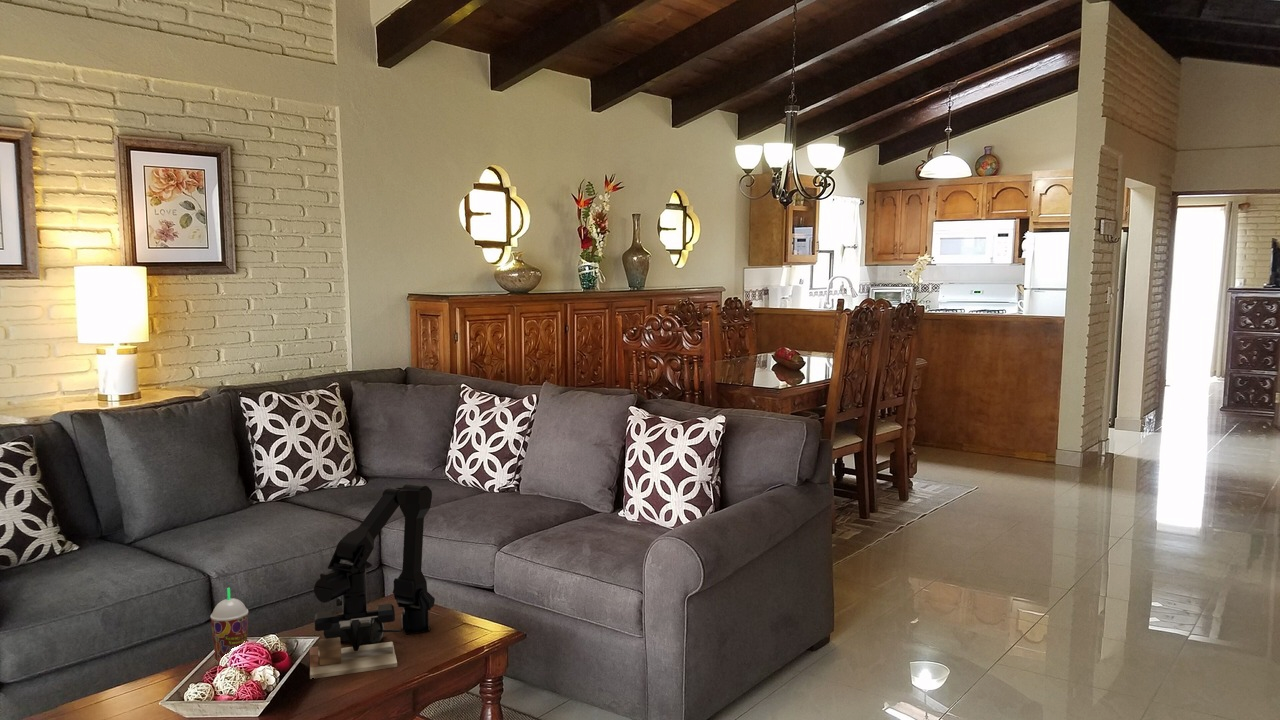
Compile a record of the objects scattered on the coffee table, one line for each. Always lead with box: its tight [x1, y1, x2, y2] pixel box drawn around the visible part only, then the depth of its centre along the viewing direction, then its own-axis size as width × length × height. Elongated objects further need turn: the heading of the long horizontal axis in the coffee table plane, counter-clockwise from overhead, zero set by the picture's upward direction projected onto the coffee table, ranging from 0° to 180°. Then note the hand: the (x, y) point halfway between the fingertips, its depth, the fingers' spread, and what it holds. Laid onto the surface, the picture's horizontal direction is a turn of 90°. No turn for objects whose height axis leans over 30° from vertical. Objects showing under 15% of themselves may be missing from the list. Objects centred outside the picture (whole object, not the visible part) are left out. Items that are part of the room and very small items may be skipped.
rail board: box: [309, 641, 398, 680], centre depth 220 cm, size 20×14×4 cm
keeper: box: [318, 637, 342, 665], centre depth 218 cm, size 5×6×4 cm
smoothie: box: [209, 587, 249, 662], centre depth 216 cm, size 8×8×20 cm
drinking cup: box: [323, 618, 402, 645], centre depth 233 cm, size 8×8×20 cm
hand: (356, 650), depth 221 cm, fingers closed
